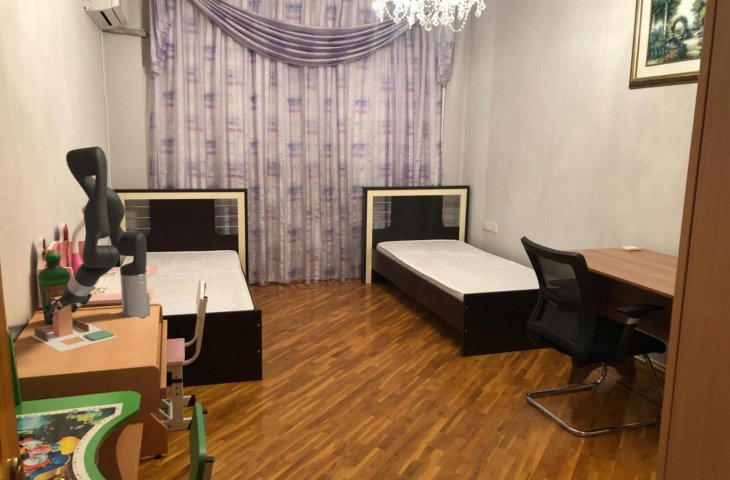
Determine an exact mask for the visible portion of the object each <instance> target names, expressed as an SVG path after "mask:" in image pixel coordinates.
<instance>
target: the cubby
mask: <svg viewBox="0 0 730 480" xmlns="http://www.w3.org/2000/svg"><path fill="white" fill-rule="evenodd" d="M85 323H86V322H83V321H81V320H79V319H72V325H73V327H75V326H76V327H78V328H80V329H82V330H84V331H87V332H89V325H88V324H89V323H88V324H85ZM33 331H34V335H35V336H36V337H38V338H40V339H42V340H44V341H46V342H49V341H48V334H46V333H50V332H54V330H53V325H49V324H48V325H46V326H41V327H37V328H34V329H33Z"/></svg>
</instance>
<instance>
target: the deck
mask: <svg viewBox="0 0 730 480" xmlns="http://www.w3.org/2000/svg"><path fill="white" fill-rule="evenodd" d="M84 323H85V324H88V325H89V332H87V331H84V330H82V329H80V328H78V327H76V326H75V327H73V334H71V335H67V336H63V337H58V336H56V335H54V332H50V333H46V334H48V341H49V342H46V341H44V340H42V339H40V338H38V337H36V336H35V334H34V335H31V337H32V338H33V339H36V340H37V341H40V342H41V343H44V344H46V345H47V346H49V347H50V348H52V349H54V350H56V351H58V352H60V353H62V352H66V351H70V350H73V349H77V348H81V347H85V346H88V345H93V344H97V343H99V342H104V341H107V340H110V339H111V340H112V339H115V338H118V336H117V335H116V334H114V336H112V337H108V338H105V339H101V340H97V341H92V340H90V339H88V338H86V337H84V335H85V334H89V333H93V332H97V331H101V330H103V329H102V328H99V327H97V326H95V325H93V324H91V323H89V322H84ZM75 338H80V339H82V340H83V341H79V342H76V343H72V344H66V343H64V342H62V341H66V340H70V339H75Z"/></svg>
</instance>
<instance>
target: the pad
mask: <svg viewBox="0 0 730 480" xmlns="http://www.w3.org/2000/svg"><path fill="white" fill-rule="evenodd" d="M114 335H115V334H114V333H111V332H110V331H108V330H105V329H102V330H101V331H97V332H93V333H89V334H85V335H84V337H86V338H88V339H90V340H92V341H97V340H101V339H105V338H108V337H112V336H114Z"/></svg>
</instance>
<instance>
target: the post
mask: <svg viewBox="0 0 730 480" xmlns="http://www.w3.org/2000/svg"><path fill="white" fill-rule="evenodd" d="M60 297H61V296H59V297H54V298H55V300H57V299H59V298H60ZM51 299H52V298H51ZM59 305H60V306H61V307H63V306H62V304H61V303H59ZM56 309H57V307H56V308H55V310H56ZM72 315H73V313H72V311H71V306H68V307H66V308H65V309H63V310H62V311H60V310H59V311H58V312H56V314H55V315H54V316H53V330H54V335H56V336H58V337H63V336H67V335H71V334H73V325H72V320H73V316H72Z"/></svg>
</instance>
